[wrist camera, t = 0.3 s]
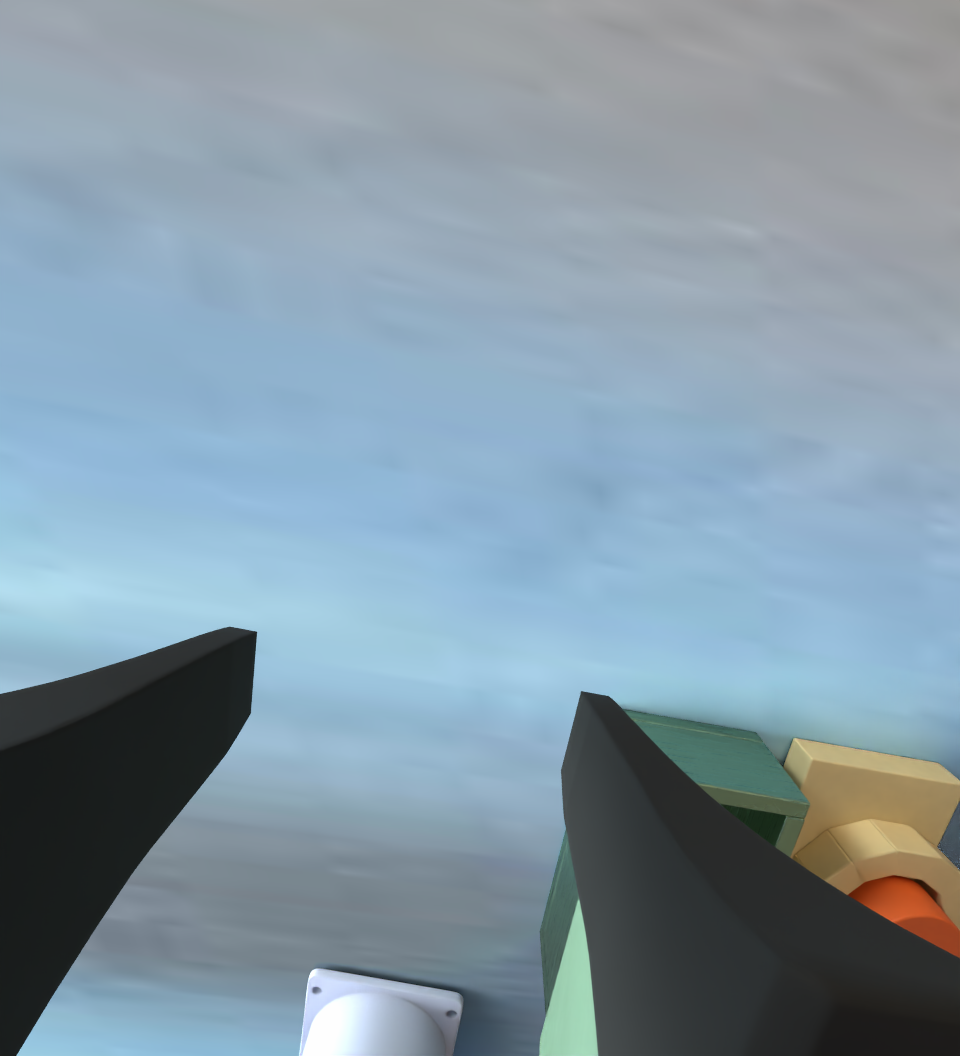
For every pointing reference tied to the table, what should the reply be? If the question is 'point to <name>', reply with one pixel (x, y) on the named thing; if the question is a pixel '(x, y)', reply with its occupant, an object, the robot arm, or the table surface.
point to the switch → (910, 910)
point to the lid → (571, 1000)
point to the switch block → (875, 819)
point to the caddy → (722, 772)
